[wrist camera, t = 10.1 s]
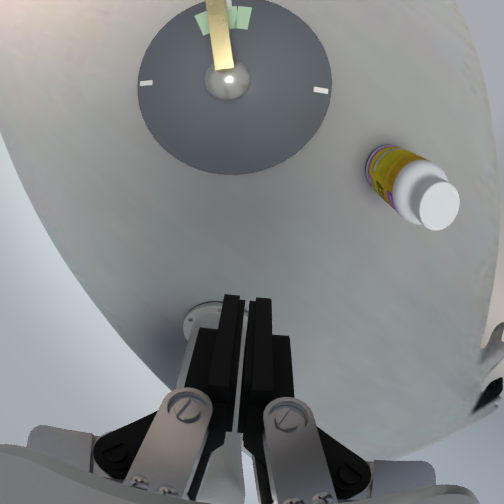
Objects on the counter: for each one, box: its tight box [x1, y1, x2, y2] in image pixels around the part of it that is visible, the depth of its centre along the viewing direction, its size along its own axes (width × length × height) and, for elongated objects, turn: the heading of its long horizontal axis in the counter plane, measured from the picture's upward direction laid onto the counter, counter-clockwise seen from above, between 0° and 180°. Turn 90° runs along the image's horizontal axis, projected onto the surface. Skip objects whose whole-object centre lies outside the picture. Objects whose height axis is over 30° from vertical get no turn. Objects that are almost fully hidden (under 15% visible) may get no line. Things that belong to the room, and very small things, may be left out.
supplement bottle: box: [366, 145, 459, 230], centre depth 26 cm, size 7×7×13 cm
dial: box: [138, 0, 332, 175], centre depth 27 cm, size 22×22×1 cm
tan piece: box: [205, 0, 251, 100], centre depth 23 cm, size 13×4×4 cm, turn 7°
